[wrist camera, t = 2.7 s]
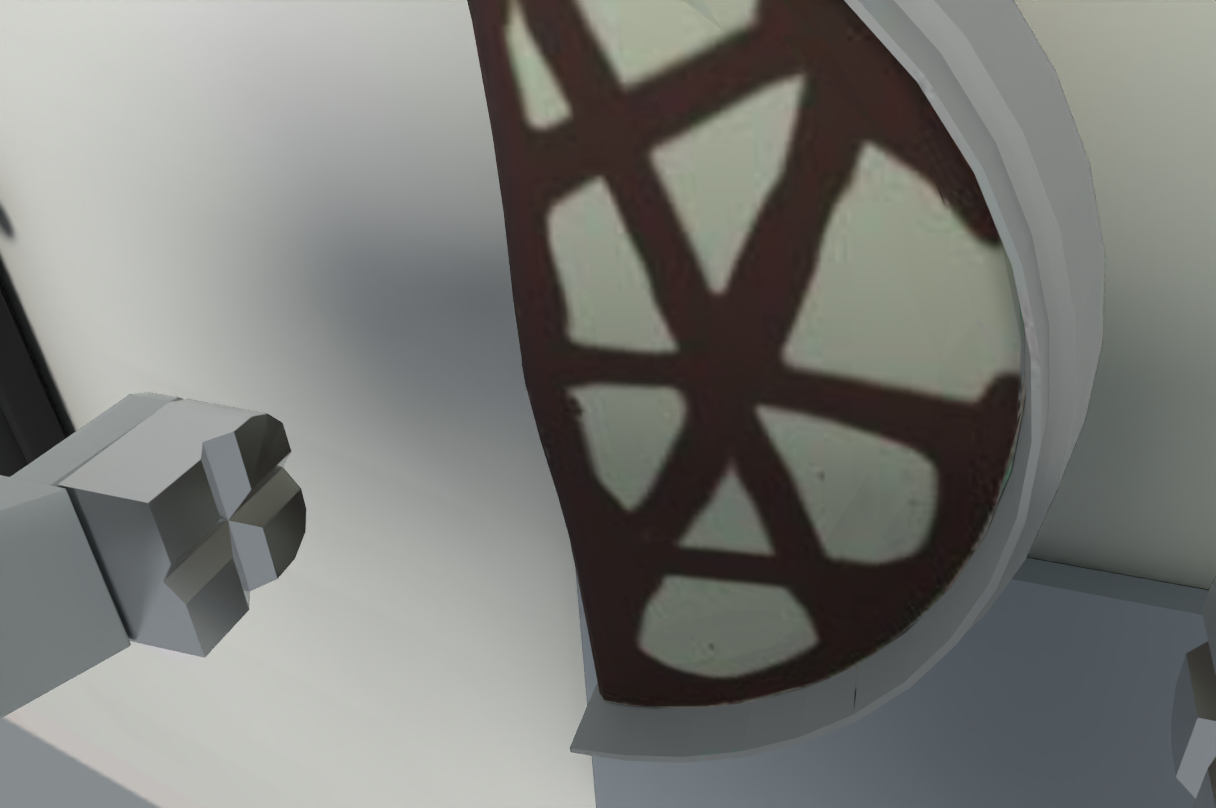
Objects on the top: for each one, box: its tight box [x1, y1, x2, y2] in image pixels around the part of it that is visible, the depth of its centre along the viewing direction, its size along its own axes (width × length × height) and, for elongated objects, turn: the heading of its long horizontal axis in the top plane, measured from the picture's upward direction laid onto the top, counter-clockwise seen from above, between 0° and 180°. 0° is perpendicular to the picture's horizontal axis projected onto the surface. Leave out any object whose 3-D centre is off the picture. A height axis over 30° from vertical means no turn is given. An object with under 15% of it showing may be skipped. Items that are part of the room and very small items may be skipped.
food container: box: [467, 0, 1105, 763], centre depth 14 cm, size 12×6×10 cm, turn 9°
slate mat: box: [576, 558, 1209, 808], centre depth 25 cm, size 15×12×1 cm
